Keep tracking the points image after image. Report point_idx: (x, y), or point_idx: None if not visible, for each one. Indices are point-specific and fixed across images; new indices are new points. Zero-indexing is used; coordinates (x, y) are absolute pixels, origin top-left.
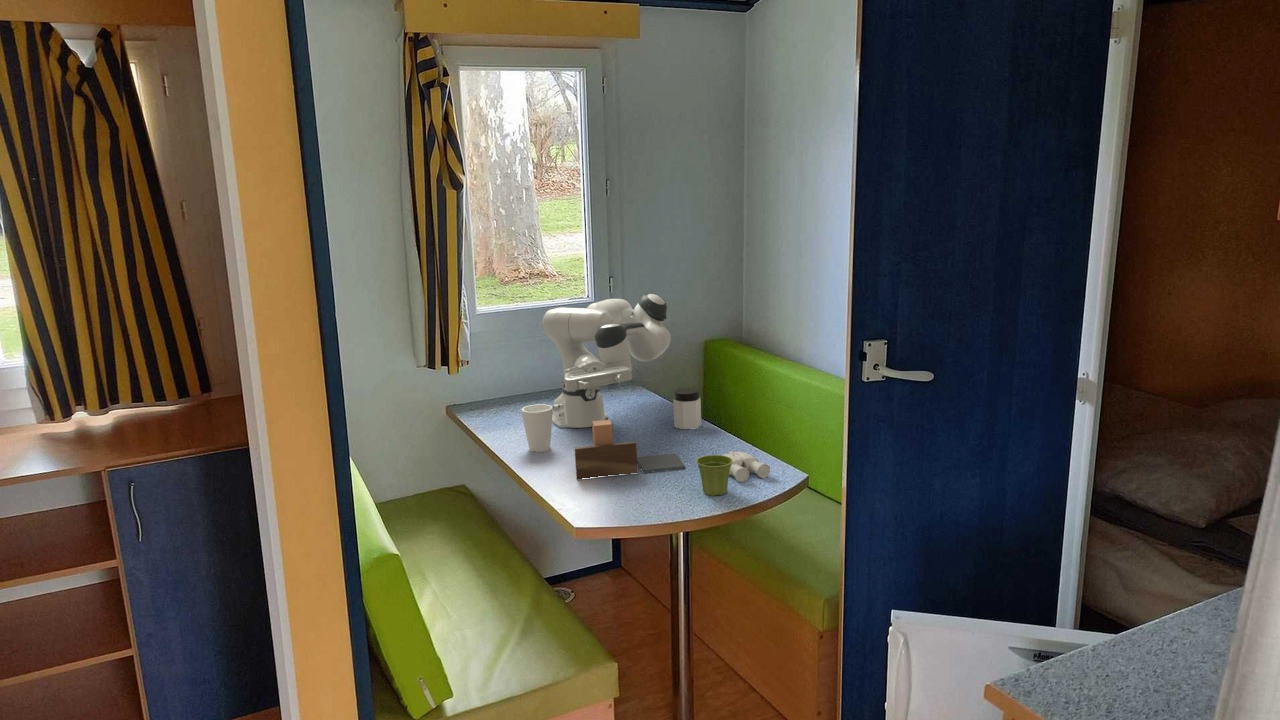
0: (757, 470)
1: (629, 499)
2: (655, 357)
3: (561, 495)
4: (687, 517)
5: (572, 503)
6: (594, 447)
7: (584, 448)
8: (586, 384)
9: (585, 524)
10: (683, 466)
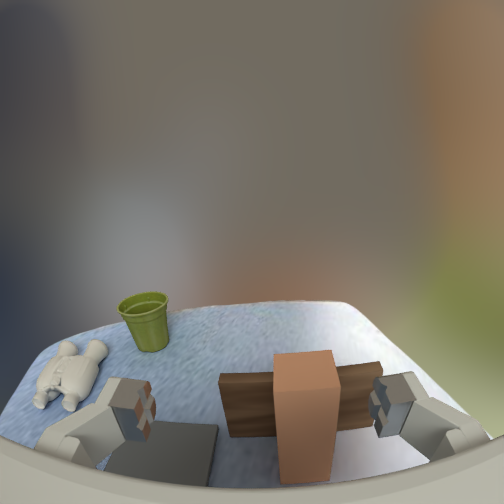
0: (75, 347)
1: (276, 346)
2: None
3: (387, 364)
4: (222, 307)
5: (364, 343)
6: None
7: (356, 365)
8: (391, 375)
9: (339, 305)
10: None
